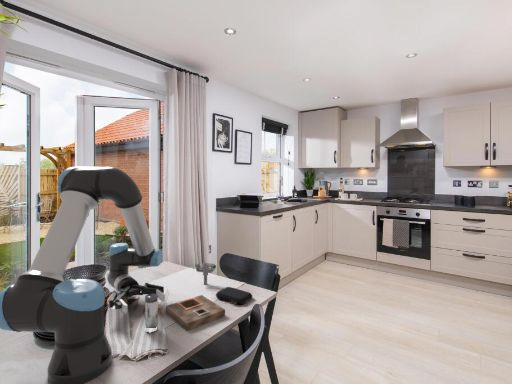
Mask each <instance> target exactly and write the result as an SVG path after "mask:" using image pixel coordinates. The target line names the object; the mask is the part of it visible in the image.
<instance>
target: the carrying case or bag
mask: <svg viewBox="0 0 512 384" xmlns="http://www.w3.org/2000/svg"><path fill="white" fill-rule="evenodd" d="M215 296H216V298H217V299H219V300H221V301H224V302H229V303H231V304H233V305H238V306H239V305H240V306H242V304H243V305H245V304H246V303H247V302H248V300H249V301H250V300H251V299H252V298H253V294H252V293H251V292H249V291H247V290H246V291H245V290H242V289H239V288H236V287H231V286H226V287H224V288H223V289H220V290H219V291H217V292H216V293H215ZM245 302H246V303H245Z"/></svg>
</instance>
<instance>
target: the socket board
mask: <svg viewBox="0 0 512 384" xmlns="http://www.w3.org/2000/svg"><path fill="white" fill-rule="evenodd" d="M165 313H166V314H167V315H168V316H169V317H170V318H171V319H173V321H175V322H176V323H177V324H178V325H179V326H181V327H182V328H183V329H184V330H185V331H189V330H192V329H195V328H197V327H200V326H203V325H205V324H208V323H211V322H214V321H216V320H218V319H221V318H224V317H225V316H226V309H225V308H223V307H222V306H220V305H218V304H217V303H215V302H214V301H212V300H211V299H209V298H207V297H206V296H204V295H202V294H201V295H197V296H194V297H192V298H191V297H190V298H187V299H184V300H181V301H178V302H175V303H172V304H168V305H165Z"/></svg>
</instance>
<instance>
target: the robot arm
mask: <svg viewBox="0 0 512 384" xmlns="http://www.w3.org/2000/svg"><path fill="white" fill-rule="evenodd" d="M57 192H58V194H59V198H60V200H61V203H60V205H59V208H58V210H57V212H56V214H55V216H54V218H53V220H52V222H51V224H50V227H49V228H48V230H47V233H46V235H45V237H44V238H43V241H42V242H41V245H40V247H39V249H38V251H37V253H36V255H35V258H34V259H33V261H32V262H31V263H32V264H31V265H30V267H29V270H27V271H25V272H23V273H21V274H19V276H18V277H17V280H16V282H15V284H11V285H8V286H6V287H5V288H4V289H1V290H0V329H1V330H2V331H3V330H4V331H11V332H16V333H21V332H30V333H31V332H32V333H35V332H36V333H54V348H53V351H52V354H51V358H50V359H49V363H48V366H47V380H48V381H49V383H50V384H84V383H86V382H89V381H91V380H94V379H95V378H97V377H98V376H100V375H101V374H102V373H104V372H105V371H106V370H108V368H109V366H110V365H111V364H112V360H113V351H112V348H111V346H110V343H109V340H108V339H107V338H108V337H107V336H106V333H105V301H106V299H105V292H104V291H105V290H104V286H103V285H102V284H101V283H100V282H98V281H96V280H94V279H88V278H77V279H68V280H65V279H64V277H63V276H64V274H65V272H66V269H67V267H68V265H69V262H70V260H71V257H72V255H73V252H74V250H75V247H76V245H77V242H78V240H79V238H80V235H81V233H82V231H83V228H84V226H85V223H86V221H87V218H88V216H89V213H90V211H91V210H94V209H96V208H97V207H98V204H99V202H100V201H101V200H110V201H113V203H114V205H115V207H116V208H117V209H119V210H120V214H121V215H122V219H123V221H124V224H125V228H126V230H127V232H128V236H129V238H130V241H131V244H132V247H133V248H129V247H130V246H129V244H128V243H125V242H118V243H117V242H116V243H113V244H111V245H110V246H109V253H108V254H109V255H108V256H109V272H108V273H107V277H106V278H107V283H108V284H109V286H111V287H113V289H114V290H112V294H111V296H110V297H109V298H110V299H108V300H109V302H108V305H109V306H108V308H113V307H114V309H116V310H118V309H119V310H120V309H121V311H123V313H124V314H128V304H127V303H126V302H125V300H128V298H132V297H133V296H143V295H148V294H157V295H158V299H159V300H160V301H161V302H162V303H165V302H166V294H165V292H164V291H165V289H164V288H165V287H164V286H163V285H162V286H161V285H156V284H151V283H148V282H145V283H144V285H141V284H139V283H138V281H137V280H136V279H135V278H134V277H132V276H131V275H130V274H129V269H130V268H129V267H142V268H143V267H145V268H146V267H147V268H154V267H159V266H160V265H161V264H162V260H163V251H162V250H161V249H159V248H155V246H154V243H153V240H152V236H151V233H150V229H149V226H148V223H147V221H146V220H147V219H146V215H145V212H144V210H143V209H144V208H143V207H142V203H141V202H143V196H142V192H141V190H140V188H139V186H138V184H137V183H136V181H134V179H133V178H132V177H131V176H130V175H129V174H128V173H126V172H125V171H123V170H122V169H119V168H117V167H114V166H84V165H83V166H82V165H79V166H70V167H67V168H66V169H65V170H63V171H62V172H61V173H60V175H59V177H58V179H57ZM117 297H118V298H117Z"/></svg>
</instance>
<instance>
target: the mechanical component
mask: <svg viewBox="0 0 512 384" xmlns="http://www.w3.org/2000/svg"><path fill="white" fill-rule="evenodd" d="M194 267H195V269H196V270H195V271H196V272H198V273H202V276H203V285H207V284H208V275H209V274H211V273H213V272H214V271H215V269H216V268H217V265H216V263H209V262H203V263H202V264H201V265H200V263H199V262H197V263H195V264H194Z"/></svg>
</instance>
